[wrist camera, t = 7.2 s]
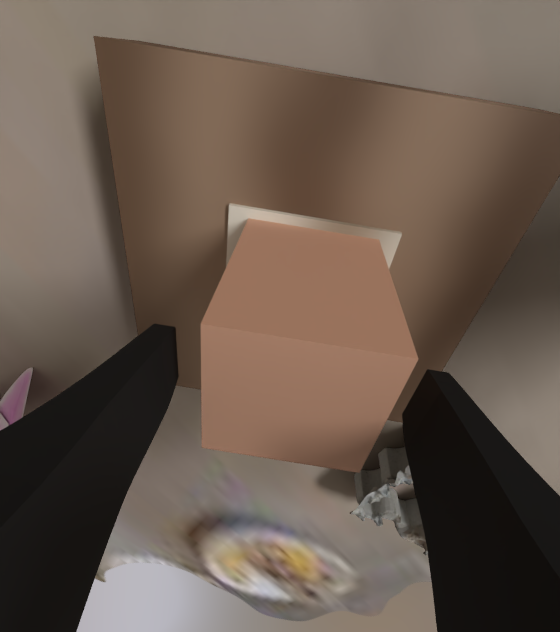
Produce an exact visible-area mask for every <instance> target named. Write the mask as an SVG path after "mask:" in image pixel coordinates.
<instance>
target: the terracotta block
mask: <svg viewBox="0 0 560 632" xmlns="http://www.w3.org/2000/svg"><path fill="white" fill-rule="evenodd" d="M417 361H418V356H417V353H416V350H415V347H414V344H413V341H412V338H411V335H410V332H409V329H408V326H407V322H406V319H405V316H404V313H403V310H402V307H401V304H400V301H399V298H398V295H397V292H396V289H395V286H394V283H393V280H392V277H391V274H390V271H389V268H388V265H387V262H386V259H385V256H384V253H383V250H382V247H381V244H380V241H379V239H373V238H367V237H360V236H354V235H348V234H342V233H336V232H330V231H324V230H318V229H311V228H305V227H299V226H293V225H287V224H281V223H275V222H269V221H262V220H256V219H250V218H248V220H247V223H246V225H245V227H244V229H243V231H242V234H241V236H240V238H239V240H238V242H237V245H236V247H235V249H234V251H233V253H232V256H231V258H230V260H229V262H228V264H227V267H226V269H225V271H224V273H223V276H222V278H221V280H220V282H219V284H218V287H217V289H216V291H215V293H214V295H213V298H212V300H211V302H210V304H209V306H208V309H207V311H206V313H205V315H204V317H203V320H202V322H201V413H202V448H207V449H213V450H219V451H226V452H232V453H238V454H244V455H251V456H257V457H263V458H269V459H276V460H282V461H288V462H294V463H301V464H307V465H313V466H319V467H325V468H332V469H338V470H344V471H350V472H357V473H360V471H361V469H362V467H363V465H364V463H365V461H366V459H367V457H368V455H369V453H370V451H371V450H372V448H373V446H374V444H375V442H376V440H377V438H378V436H379V434H380V432H381V430H382V428H383V426H384V425H385V423H386V421H387V419H388V417H389V415H390V413H391V411H392V409H393V407H394V405H395V403H396V401H397V400H398V398H399V396H400V394H401V392H402V390H403V388H404V386H405V384H406V382H407V380H408V378H409V377H410V375H411V373H412V371H413V369H414V367H415V365H416V363H417Z"/></svg>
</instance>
